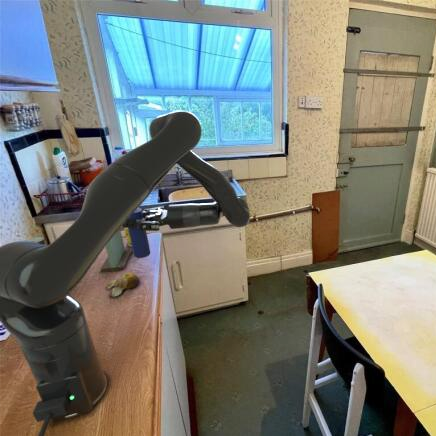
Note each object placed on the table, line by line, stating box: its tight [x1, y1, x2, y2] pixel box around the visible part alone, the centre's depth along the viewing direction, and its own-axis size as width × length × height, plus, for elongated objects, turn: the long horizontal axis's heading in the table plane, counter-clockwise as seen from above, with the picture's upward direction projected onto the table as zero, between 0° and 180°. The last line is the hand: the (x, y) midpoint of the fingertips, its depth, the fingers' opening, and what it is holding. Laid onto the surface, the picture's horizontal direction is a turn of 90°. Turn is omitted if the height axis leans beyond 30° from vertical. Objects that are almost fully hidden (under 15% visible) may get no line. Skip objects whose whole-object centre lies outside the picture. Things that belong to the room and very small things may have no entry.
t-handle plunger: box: [127, 207, 151, 259], centre depth 86 cm, size 8×5×22 cm, turn 15°
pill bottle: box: [124, 228, 132, 247], centre depth 111 cm, size 6×6×11 cm
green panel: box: [100, 225, 132, 273], centre depth 95 cm, size 11×12×30 cm
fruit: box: [107, 272, 140, 297], centre depth 87 cm, size 8×8×4 cm
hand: (125, 220), depth 85 cm, fingers closed on t-handle plunger, 4 cm apart
